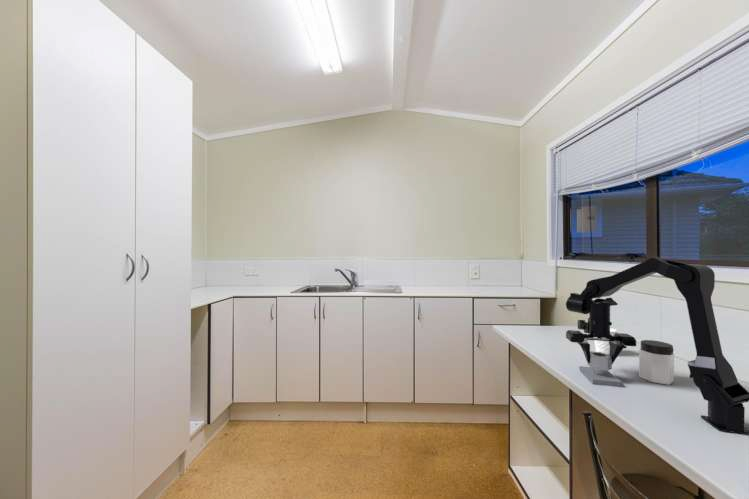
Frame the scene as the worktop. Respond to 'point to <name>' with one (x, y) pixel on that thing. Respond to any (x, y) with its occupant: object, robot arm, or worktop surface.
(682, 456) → the worktop surface
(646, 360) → the jar
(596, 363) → the hub ring
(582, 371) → the block
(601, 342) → the white cup
